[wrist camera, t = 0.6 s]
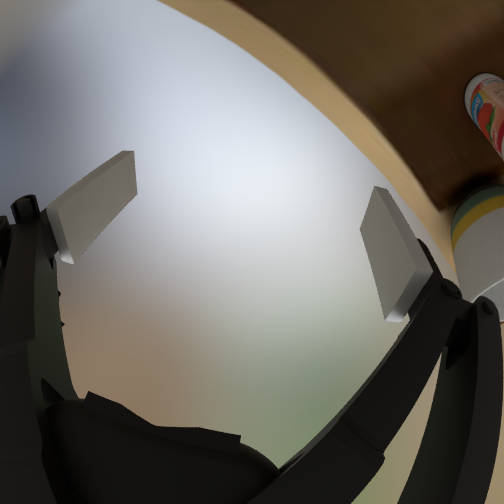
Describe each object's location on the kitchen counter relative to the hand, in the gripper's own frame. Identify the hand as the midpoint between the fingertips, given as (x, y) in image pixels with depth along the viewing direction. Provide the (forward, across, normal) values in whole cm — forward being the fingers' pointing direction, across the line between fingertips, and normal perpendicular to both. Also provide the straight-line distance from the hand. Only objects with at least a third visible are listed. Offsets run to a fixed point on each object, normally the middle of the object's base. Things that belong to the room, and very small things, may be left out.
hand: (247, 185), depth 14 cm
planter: (+31, +42, -6) cm, 52 cm away
